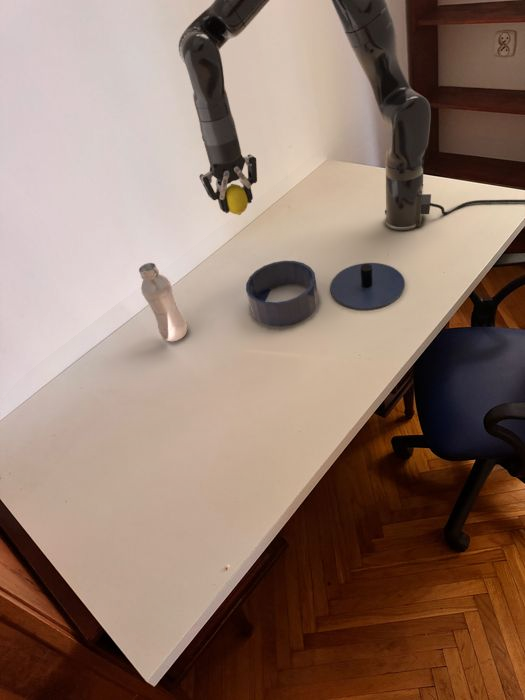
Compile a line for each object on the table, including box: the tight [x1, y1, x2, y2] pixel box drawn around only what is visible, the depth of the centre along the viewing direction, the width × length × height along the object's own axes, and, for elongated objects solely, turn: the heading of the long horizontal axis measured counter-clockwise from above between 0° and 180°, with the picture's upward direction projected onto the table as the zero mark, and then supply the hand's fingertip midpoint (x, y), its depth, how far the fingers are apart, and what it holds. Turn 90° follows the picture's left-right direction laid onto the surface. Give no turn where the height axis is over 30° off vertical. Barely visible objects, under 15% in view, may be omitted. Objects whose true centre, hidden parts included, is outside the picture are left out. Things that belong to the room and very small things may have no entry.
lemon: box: [225, 183, 249, 216], centre depth 113 cm, size 6×6×8 cm
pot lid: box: [330, 262, 406, 311], centre depth 111 cm, size 17×17×6 cm
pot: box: [245, 260, 320, 328], centre depth 112 cm, size 16×16×7 cm
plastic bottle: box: [138, 262, 188, 342], centre depth 107 cm, size 6×7×20 cm
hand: (237, 206), depth 115 cm, fingers closed on lemon, 5 cm apart
